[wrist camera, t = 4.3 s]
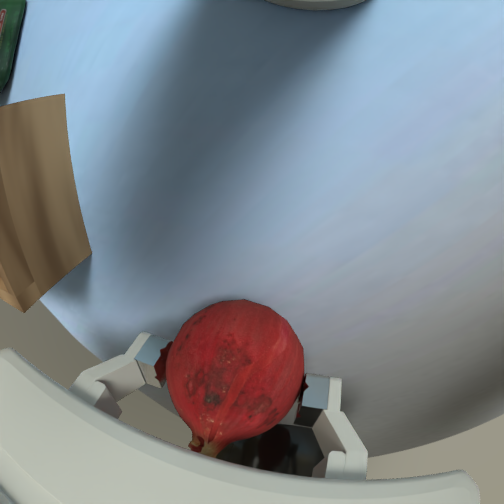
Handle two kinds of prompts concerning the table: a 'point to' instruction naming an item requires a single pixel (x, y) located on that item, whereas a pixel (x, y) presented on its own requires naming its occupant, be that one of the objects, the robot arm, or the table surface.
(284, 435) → the black egg shape
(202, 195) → the table surface
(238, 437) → the onion
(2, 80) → the coffee jar
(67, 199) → the wooden crate
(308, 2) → the travel mug
